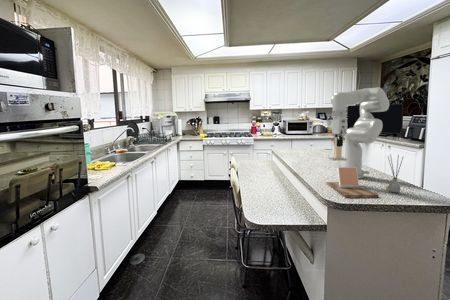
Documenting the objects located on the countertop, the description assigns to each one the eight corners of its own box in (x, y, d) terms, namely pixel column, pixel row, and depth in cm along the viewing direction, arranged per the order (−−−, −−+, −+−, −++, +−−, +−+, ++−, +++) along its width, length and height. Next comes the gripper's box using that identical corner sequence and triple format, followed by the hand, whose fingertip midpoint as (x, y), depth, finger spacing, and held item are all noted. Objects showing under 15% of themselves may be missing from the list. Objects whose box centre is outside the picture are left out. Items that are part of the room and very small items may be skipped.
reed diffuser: (405, 194, 117) (408, 155, 114) (392, 195, 116) (395, 155, 114) (390, 189, 127) (392, 152, 125) (378, 189, 127) (380, 153, 124)
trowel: (341, 158, 141) (342, 136, 139) (346, 160, 135) (347, 137, 133) (328, 158, 141) (329, 137, 139) (332, 160, 135) (333, 137, 133)
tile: (355, 167, 128) (356, 166, 127) (358, 187, 125) (359, 187, 124) (337, 167, 128) (338, 167, 127) (339, 187, 126) (340, 187, 124)
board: (352, 184, 137) (352, 182, 137) (378, 197, 113) (378, 194, 113) (324, 184, 137) (325, 182, 137) (345, 198, 114) (345, 195, 113)
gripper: (353, 113, 126) (351, 147, 129) (339, 114, 142) (338, 144, 145) (339, 114, 126) (338, 147, 129) (327, 114, 143) (326, 144, 145)
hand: (338, 145), depth 137 cm, fingers closed on trowel, 3 cm apart
